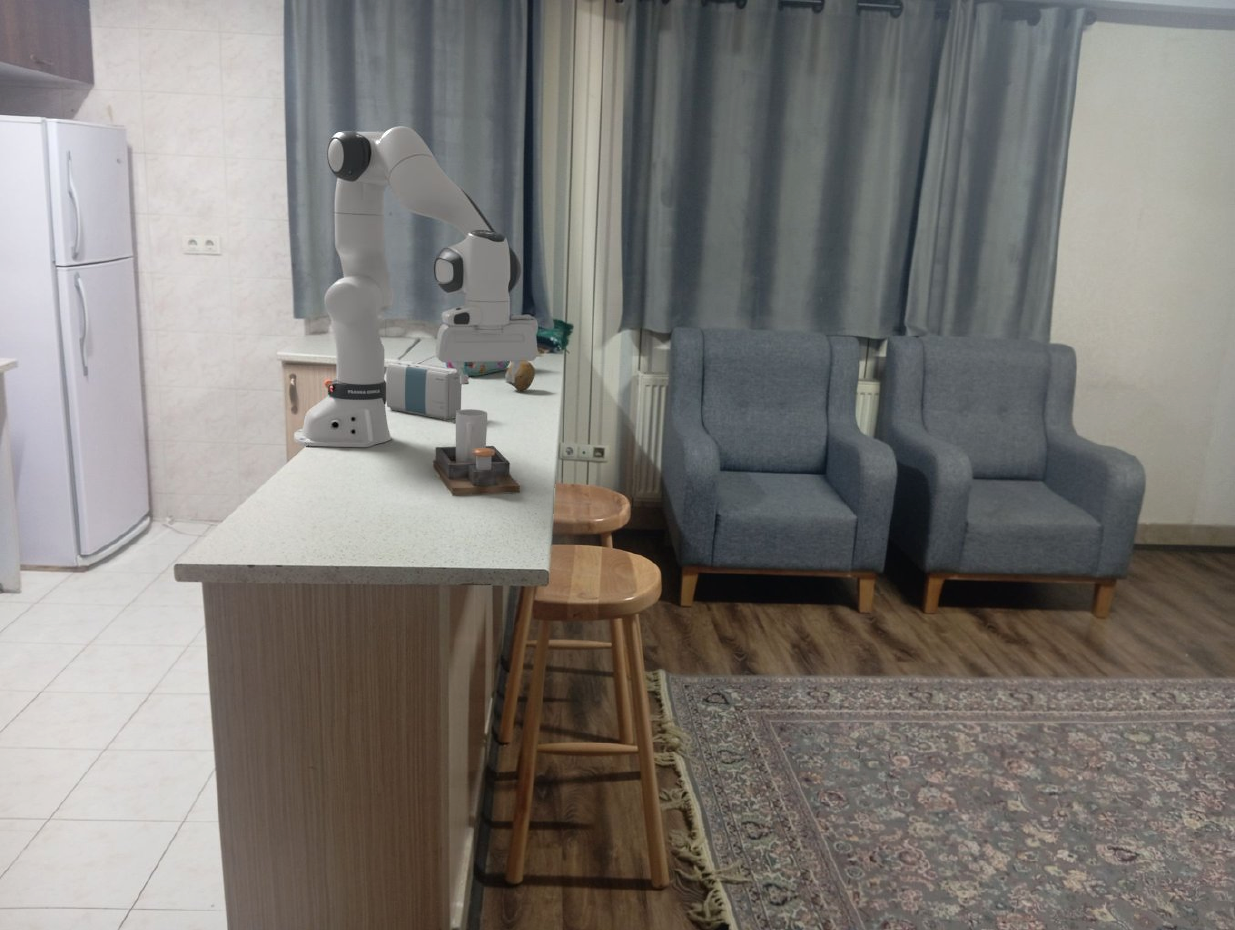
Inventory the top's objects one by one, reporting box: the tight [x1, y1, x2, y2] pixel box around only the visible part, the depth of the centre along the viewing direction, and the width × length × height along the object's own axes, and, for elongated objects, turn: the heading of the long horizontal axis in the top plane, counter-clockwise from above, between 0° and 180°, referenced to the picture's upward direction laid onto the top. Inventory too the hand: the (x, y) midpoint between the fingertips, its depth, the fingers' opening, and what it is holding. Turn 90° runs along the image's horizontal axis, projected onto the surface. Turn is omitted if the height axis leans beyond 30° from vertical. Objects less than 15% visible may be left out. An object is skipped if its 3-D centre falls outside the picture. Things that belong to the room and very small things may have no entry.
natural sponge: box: [505, 361, 536, 392], centre depth 315 cm, size 9×9×10 cm
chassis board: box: [432, 445, 521, 496], centre depth 216 cm, size 14×22×4 cm, turn 20°
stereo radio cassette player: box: [385, 353, 463, 421], centre depth 273 cm, size 21×8×20 cm, turn 62°
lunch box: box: [445, 361, 511, 377], centre depth 341 cm, size 27×10×21 cm, turn 148°
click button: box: [473, 448, 495, 470], centre depth 208 cm, size 4×4×5 cm
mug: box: [455, 408, 488, 463], centre depth 217 cm, size 10×7×12 cm, turn 3°
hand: (487, 383), depth 204 cm, fingers open, 8 cm apart
